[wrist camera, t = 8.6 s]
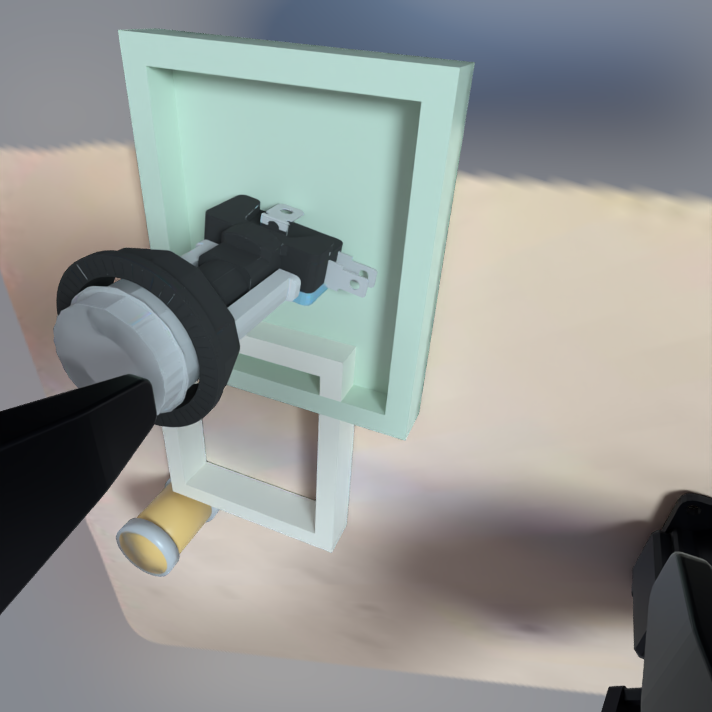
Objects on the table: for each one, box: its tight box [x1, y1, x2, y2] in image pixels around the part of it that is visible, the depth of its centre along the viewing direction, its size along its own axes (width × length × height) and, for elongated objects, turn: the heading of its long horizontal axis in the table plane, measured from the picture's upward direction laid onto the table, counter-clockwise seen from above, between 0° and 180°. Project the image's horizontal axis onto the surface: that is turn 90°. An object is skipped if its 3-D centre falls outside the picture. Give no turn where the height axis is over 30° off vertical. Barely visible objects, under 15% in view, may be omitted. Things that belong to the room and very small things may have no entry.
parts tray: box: [118, 28, 474, 440], centre depth 22 cm, size 12×14×2 cm
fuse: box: [116, 478, 220, 577], centre depth 33 cm, size 4×4×5 cm
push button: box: [53, 195, 378, 427], centre depth 18 cm, size 7×5×10 cm
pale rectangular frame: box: [162, 321, 356, 553], centre depth 28 cm, size 10×12×2 cm
